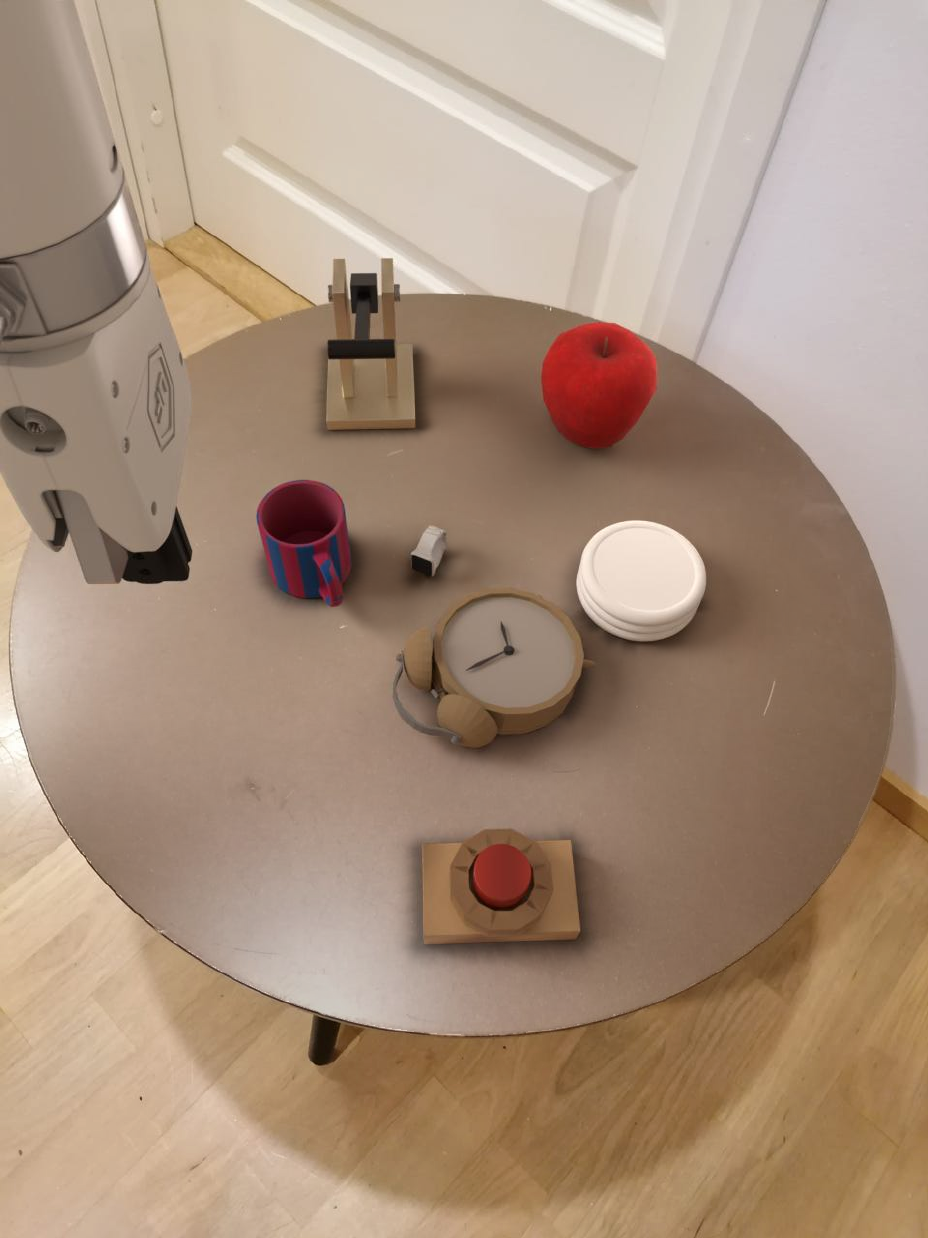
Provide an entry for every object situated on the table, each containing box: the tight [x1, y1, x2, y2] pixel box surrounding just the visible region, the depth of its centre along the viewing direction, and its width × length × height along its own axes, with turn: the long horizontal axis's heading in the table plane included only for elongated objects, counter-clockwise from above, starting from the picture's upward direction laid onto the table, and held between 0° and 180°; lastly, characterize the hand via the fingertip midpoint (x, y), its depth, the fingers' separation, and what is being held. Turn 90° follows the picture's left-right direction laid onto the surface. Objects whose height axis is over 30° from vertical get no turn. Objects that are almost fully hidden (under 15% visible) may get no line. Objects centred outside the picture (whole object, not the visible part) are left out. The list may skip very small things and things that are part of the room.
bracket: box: [325, 257, 416, 431], centre depth 83 cm, size 10×8×13 cm
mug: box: [255, 479, 352, 608], centre depth 73 cm, size 7×10×7 cm
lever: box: [326, 272, 395, 360], centre depth 75 cm, size 13×5×2 cm, turn 3°
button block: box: [421, 828, 581, 945], centre depth 61 cm, size 10×6×4 cm, turn 92°
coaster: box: [575, 520, 707, 642], centre depth 75 cm, size 10×10×4 cm
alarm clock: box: [392, 587, 596, 748], centre depth 70 cm, size 11×5×15 cm
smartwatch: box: [410, 525, 449, 578], centre depth 76 cm, size 4×2×4 cm, turn 156°
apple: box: [540, 321, 658, 450], centre depth 81 cm, size 10×10×11 cm
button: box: [473, 844, 531, 908], centre depth 59 cm, size 4×4×2 cm
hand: (158, 567), depth 46 cm, fingers closed
